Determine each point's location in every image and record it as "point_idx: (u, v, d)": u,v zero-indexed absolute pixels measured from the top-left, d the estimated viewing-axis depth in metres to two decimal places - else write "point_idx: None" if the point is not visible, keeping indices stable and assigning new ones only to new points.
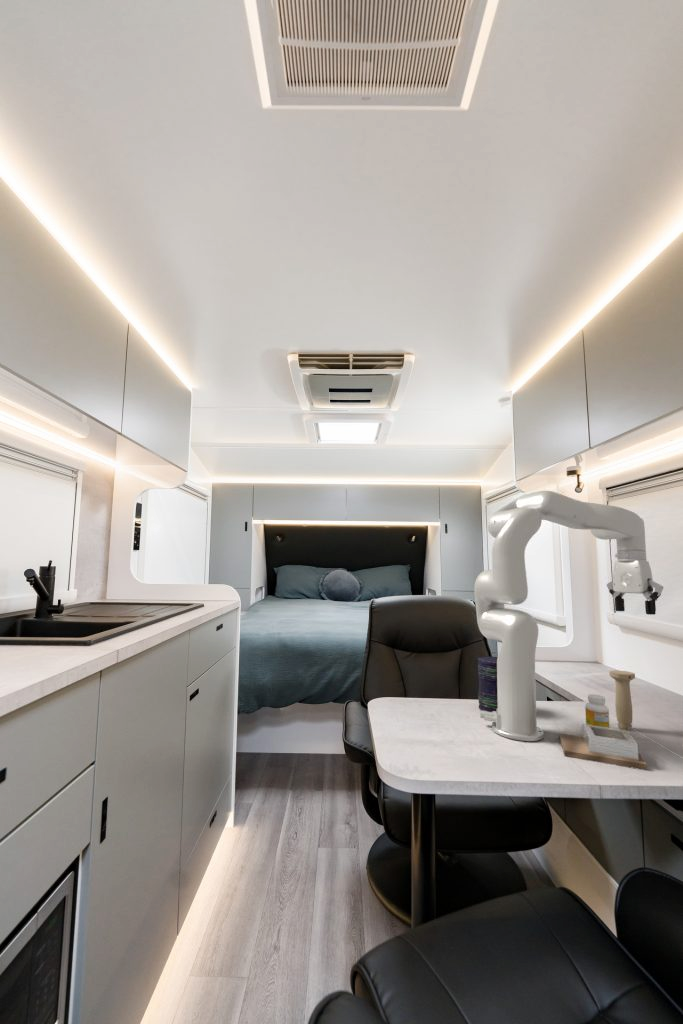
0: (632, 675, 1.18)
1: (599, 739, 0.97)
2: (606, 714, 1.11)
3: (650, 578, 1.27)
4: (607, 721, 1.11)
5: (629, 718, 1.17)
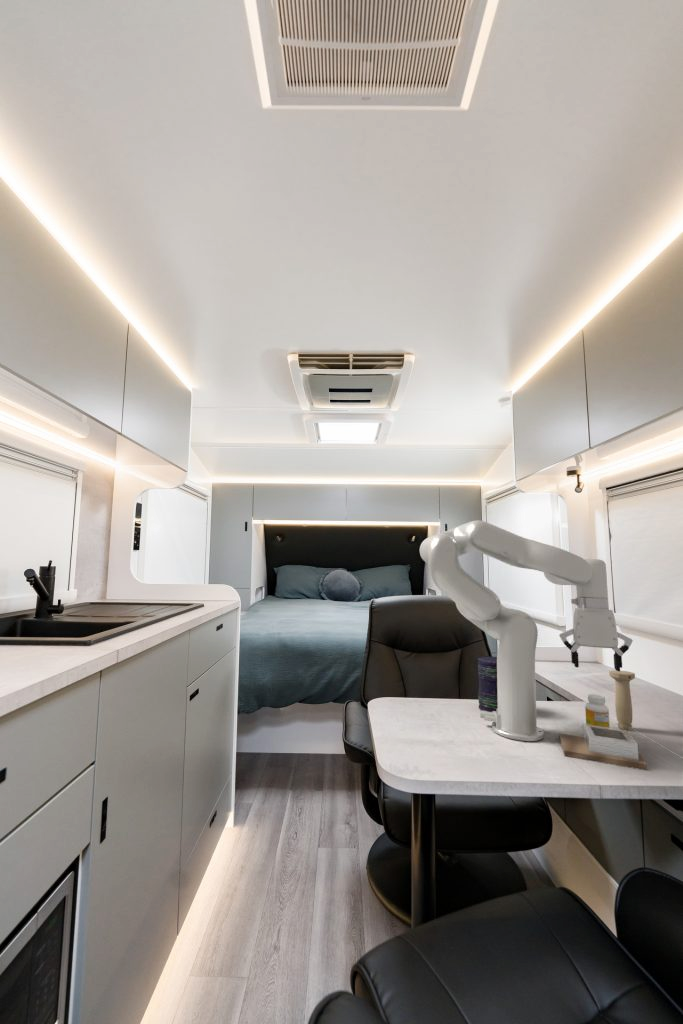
0: (632, 675, 1.18)
1: (599, 739, 0.97)
2: (606, 714, 1.11)
3: None
4: (607, 721, 1.11)
5: (629, 718, 1.17)
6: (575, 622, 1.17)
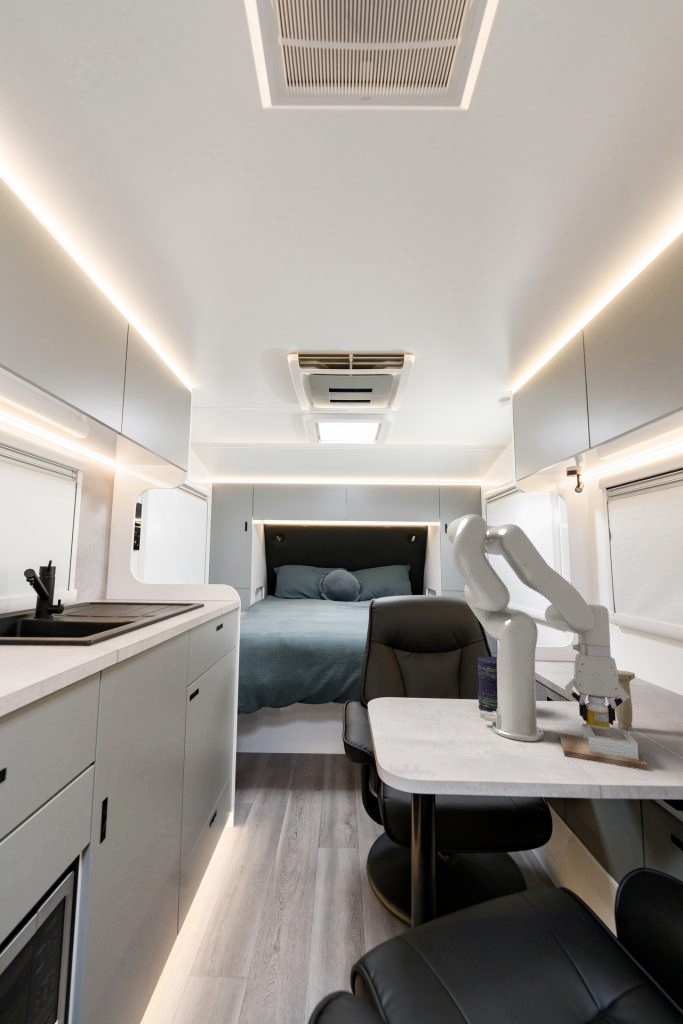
0: (632, 675, 1.18)
1: (599, 739, 0.97)
2: (606, 714, 1.11)
3: None
4: (607, 721, 1.11)
5: (629, 718, 1.17)
6: (576, 669, 1.15)
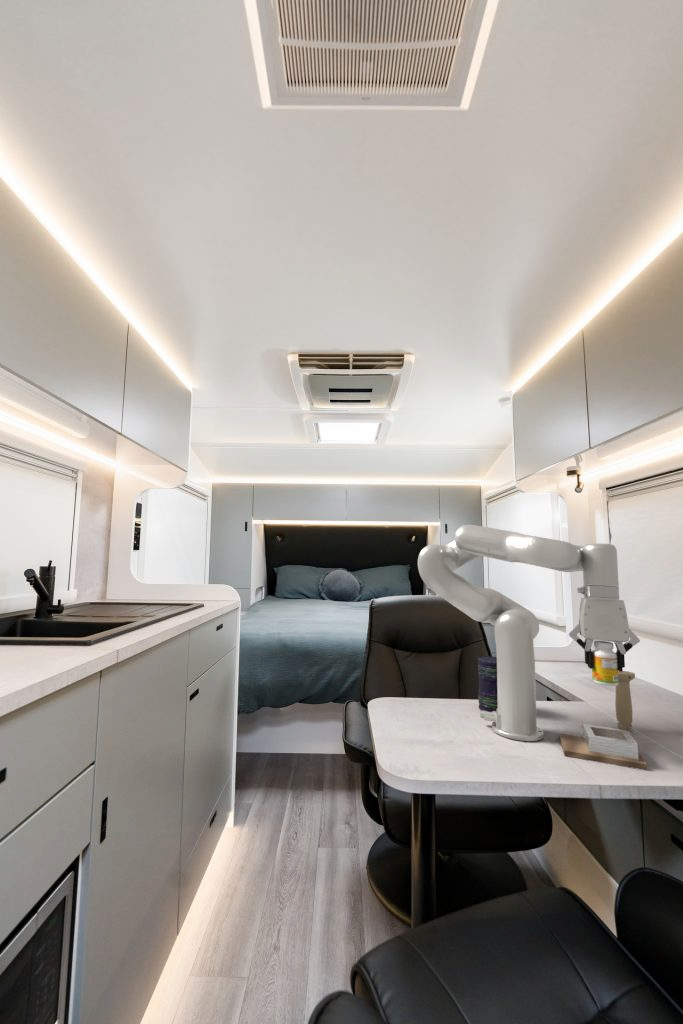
0: (632, 675, 1.18)
1: (599, 739, 0.97)
2: (615, 660, 1.01)
3: None
4: (616, 668, 1.01)
5: (629, 718, 1.17)
6: (582, 613, 1.05)
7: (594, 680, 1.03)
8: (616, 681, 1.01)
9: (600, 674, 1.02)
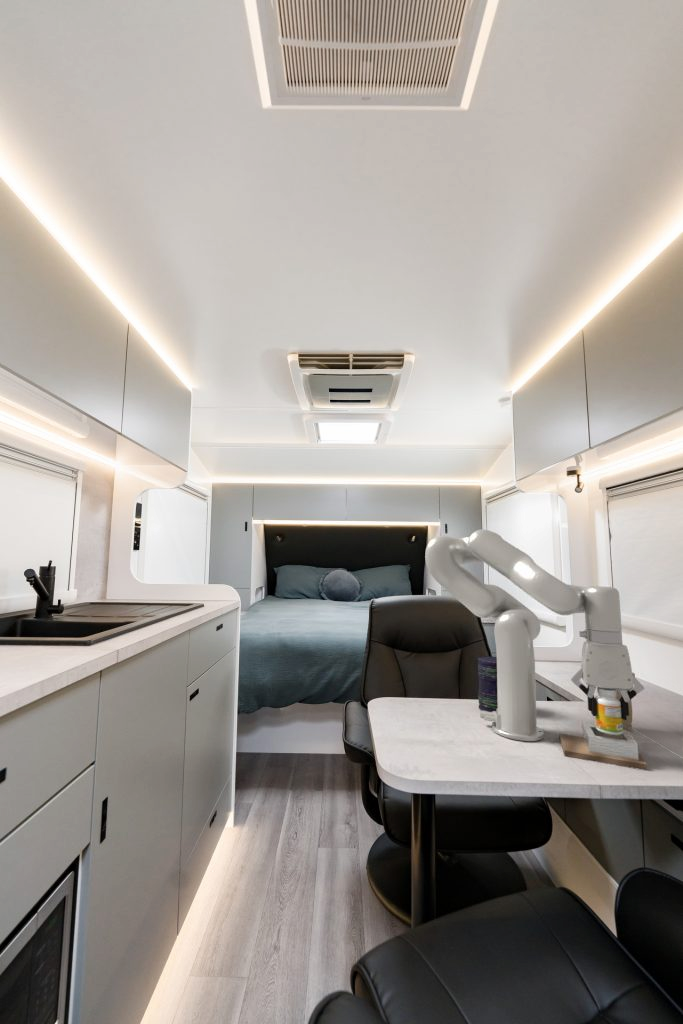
0: None
1: (599, 739, 0.97)
2: (618, 708, 0.99)
3: None
4: (619, 716, 0.99)
5: (629, 718, 1.17)
6: (584, 658, 1.03)
7: (597, 728, 1.01)
8: (620, 730, 0.98)
9: (603, 722, 0.99)
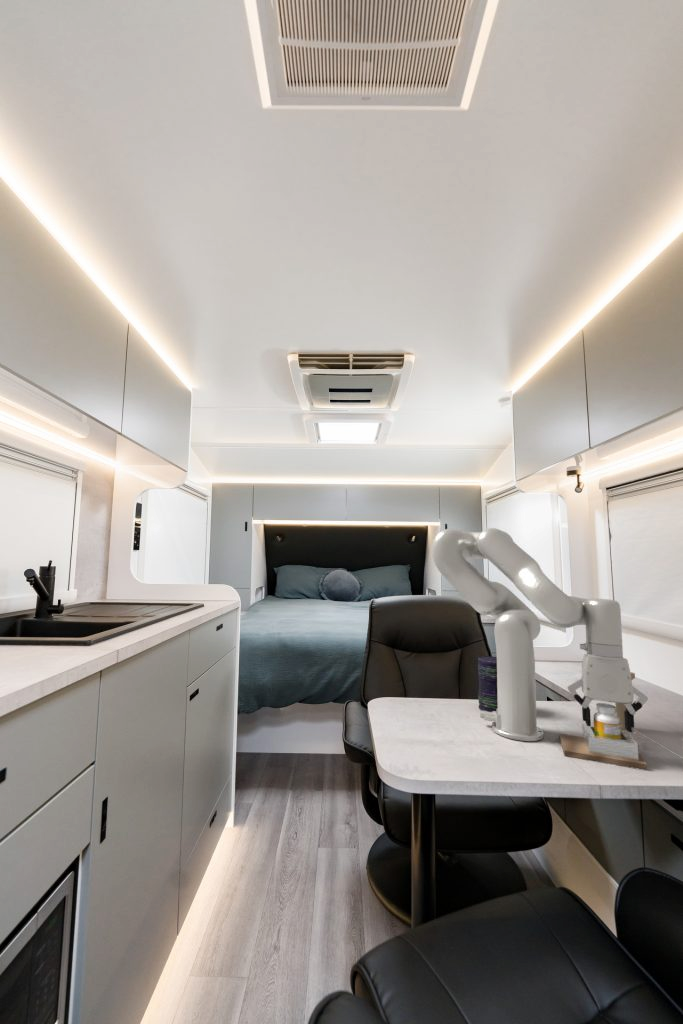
0: (632, 675, 1.18)
1: (599, 739, 0.97)
2: (617, 726, 0.99)
3: None
4: (618, 734, 0.98)
5: None
6: (584, 671, 1.02)
7: None
8: None
9: None
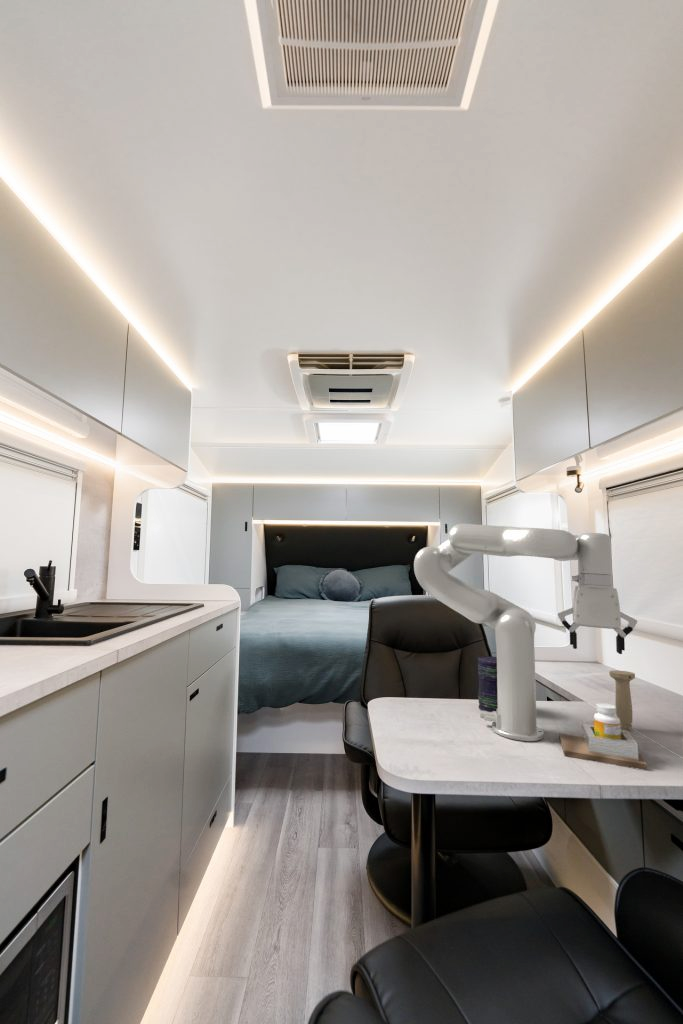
0: (632, 675, 1.18)
1: (599, 739, 0.97)
2: (617, 726, 0.98)
3: None
4: (619, 734, 0.98)
5: (629, 718, 1.17)
6: (575, 600, 1.08)
7: None
8: None
9: None
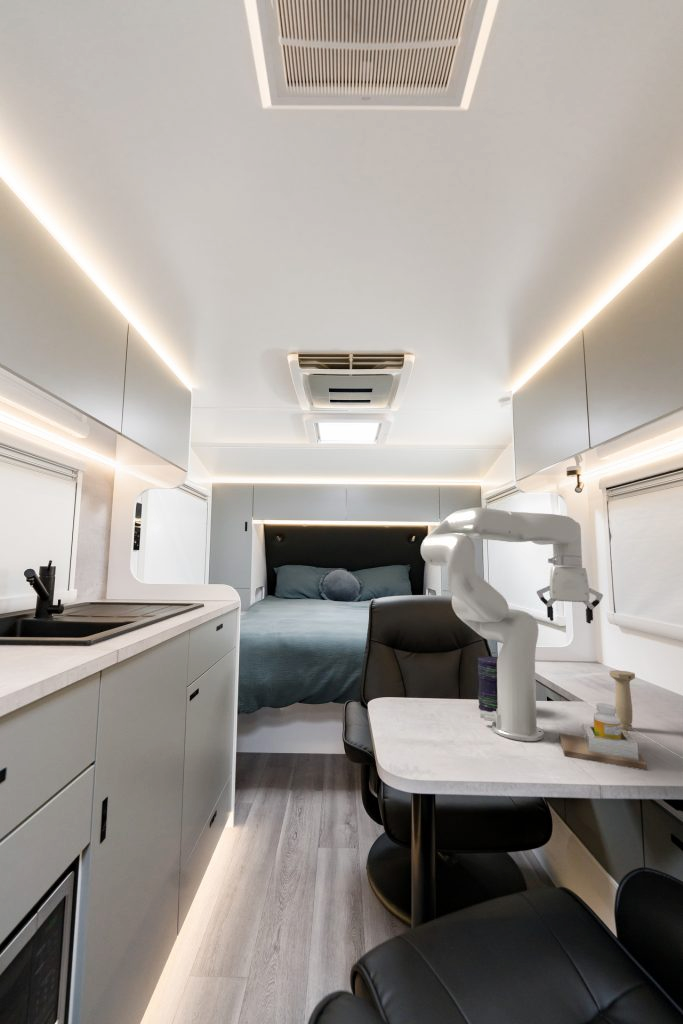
0: (632, 675, 1.18)
1: (599, 739, 0.97)
2: (617, 726, 0.98)
3: None
4: (619, 734, 0.98)
5: (629, 718, 1.17)
6: (551, 579, 1.26)
7: None
8: None
9: None
